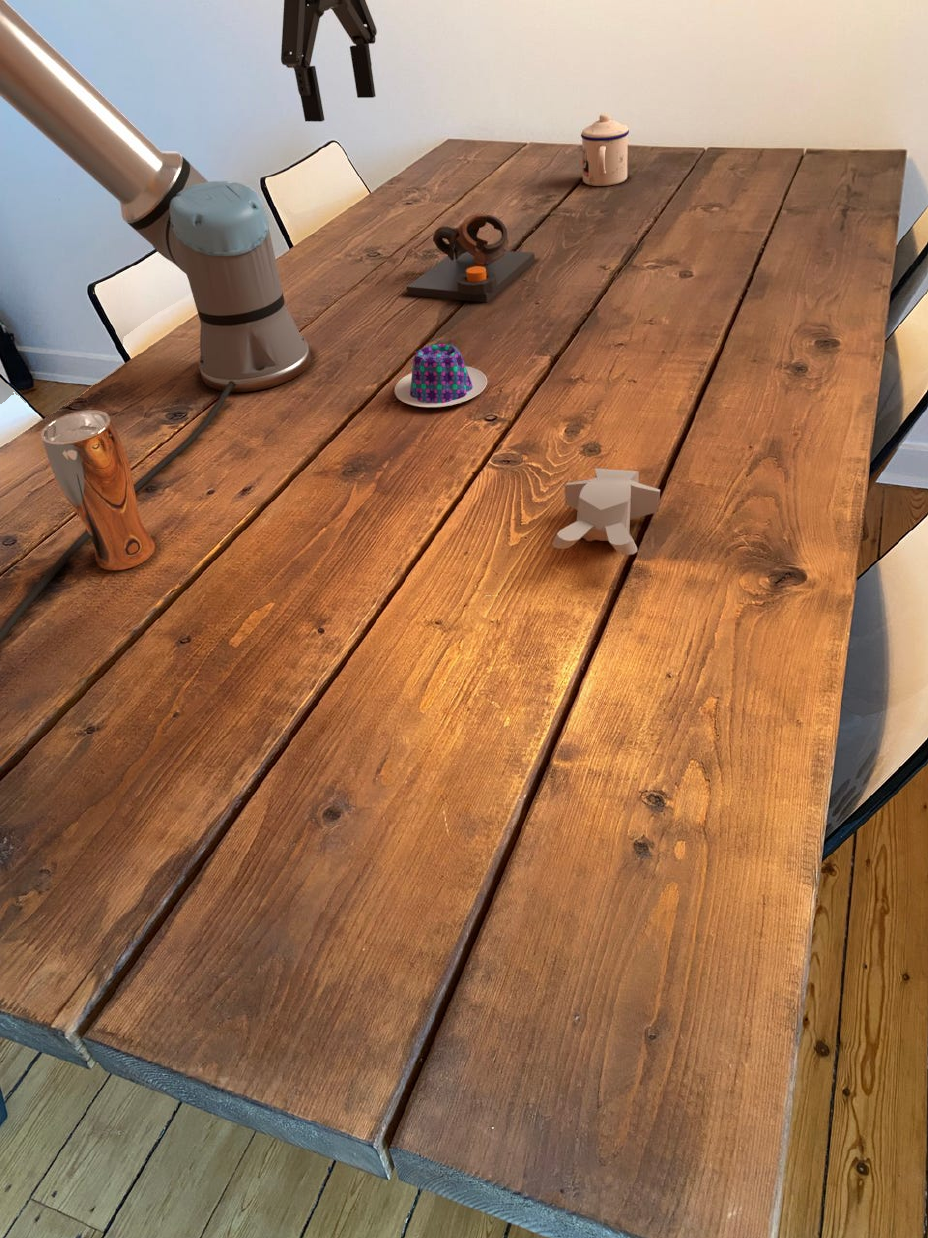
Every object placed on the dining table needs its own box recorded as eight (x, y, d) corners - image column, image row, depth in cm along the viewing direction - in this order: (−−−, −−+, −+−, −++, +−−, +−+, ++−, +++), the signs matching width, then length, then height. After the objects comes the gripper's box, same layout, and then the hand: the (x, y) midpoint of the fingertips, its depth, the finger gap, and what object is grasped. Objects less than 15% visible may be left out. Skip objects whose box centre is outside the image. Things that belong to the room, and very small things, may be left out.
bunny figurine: (667, 459, 96) (645, 527, 84) (664, 504, 99) (643, 577, 87) (575, 453, 98) (541, 518, 87) (574, 497, 101) (542, 567, 89)
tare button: (481, 284, 142) (480, 273, 141) (463, 282, 143) (462, 272, 142) (489, 276, 144) (489, 266, 143) (472, 275, 145) (471, 265, 144)
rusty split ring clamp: (502, 250, 158) (512, 211, 150) (501, 294, 154) (511, 256, 146) (430, 239, 156) (437, 199, 149) (428, 283, 152) (435, 245, 145)
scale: (487, 305, 142) (485, 285, 140) (404, 297, 148) (401, 278, 146) (537, 261, 155) (536, 242, 153) (459, 255, 161) (457, 237, 159)
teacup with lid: (584, 174, 190) (583, 110, 183) (630, 172, 188) (630, 107, 181) (577, 192, 182) (576, 125, 174) (625, 190, 180) (626, 122, 172)
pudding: (497, 371, 125) (494, 332, 121) (474, 414, 116) (469, 374, 113) (411, 368, 128) (406, 331, 125) (382, 410, 119) (375, 371, 116)
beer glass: (134, 528, 103) (86, 402, 94) (172, 547, 100) (126, 419, 90) (79, 560, 100) (23, 433, 90) (117, 581, 96) (63, 451, 86)
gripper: (278, -67, 110) (314, 131, 124) (386, -91, 127) (407, 87, 140) (227, -63, 114) (268, 131, 127) (339, -86, 130) (364, 87, 143)
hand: (341, 108), depth 134 cm, fingers open, 13 cm apart
